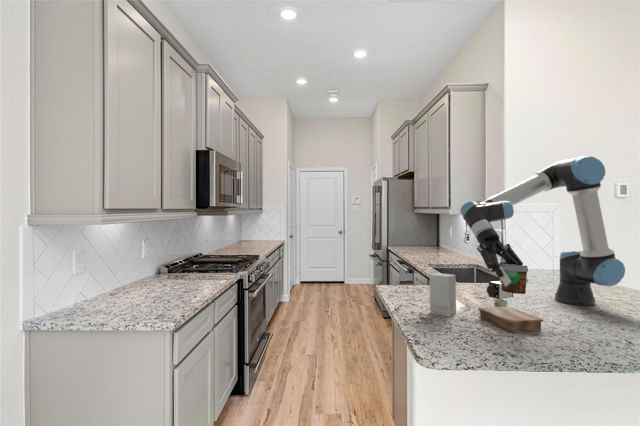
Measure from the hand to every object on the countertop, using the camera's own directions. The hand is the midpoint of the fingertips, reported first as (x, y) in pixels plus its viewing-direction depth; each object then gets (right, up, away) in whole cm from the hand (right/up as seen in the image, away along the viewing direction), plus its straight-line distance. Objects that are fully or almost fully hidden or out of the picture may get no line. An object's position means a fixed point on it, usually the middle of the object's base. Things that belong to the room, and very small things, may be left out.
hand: (517, 283), depth 128 cm
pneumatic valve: (+7, -16, +26) cm, 31 cm away
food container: (-1, -4, +3) cm, 5 cm away
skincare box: (-21, -15, +16) cm, 30 cm away
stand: (-1, -15, +3) cm, 16 cm away
